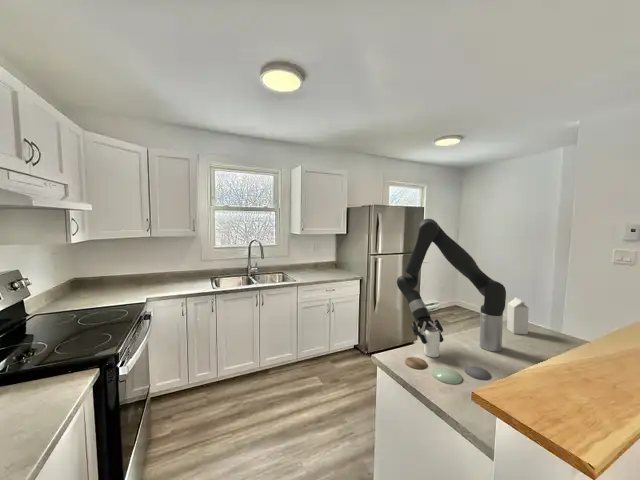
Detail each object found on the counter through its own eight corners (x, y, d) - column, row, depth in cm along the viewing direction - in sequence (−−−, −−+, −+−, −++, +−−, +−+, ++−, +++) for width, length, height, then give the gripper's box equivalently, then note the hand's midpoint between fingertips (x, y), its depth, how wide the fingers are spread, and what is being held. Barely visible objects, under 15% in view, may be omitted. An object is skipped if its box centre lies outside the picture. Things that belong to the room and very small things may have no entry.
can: (440, 358, 122) (441, 332, 122) (425, 357, 123) (426, 331, 123) (437, 352, 129) (437, 327, 128) (423, 350, 130) (423, 326, 129)
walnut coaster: (413, 357, 124) (413, 355, 124) (431, 365, 117) (431, 363, 117) (400, 363, 119) (400, 360, 119) (418, 372, 112) (418, 369, 112)
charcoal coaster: (471, 366, 116) (471, 363, 116) (494, 375, 109) (494, 373, 109) (460, 372, 111) (460, 370, 111) (483, 383, 104) (483, 380, 104)
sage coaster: (442, 366, 116) (442, 364, 116) (467, 379, 106) (467, 376, 106) (425, 374, 110) (425, 371, 110) (451, 387, 101) (451, 385, 101)
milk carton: (513, 334, 149) (514, 300, 148) (506, 329, 156) (507, 296, 155) (527, 334, 148) (528, 300, 147) (520, 329, 155) (521, 297, 154)
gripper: (409, 308, 130) (423, 341, 120) (435, 305, 134) (451, 337, 123) (403, 315, 136) (416, 347, 125) (428, 312, 139) (443, 344, 129)
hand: (433, 342), depth 124 cm, fingers open, 8 cm apart
